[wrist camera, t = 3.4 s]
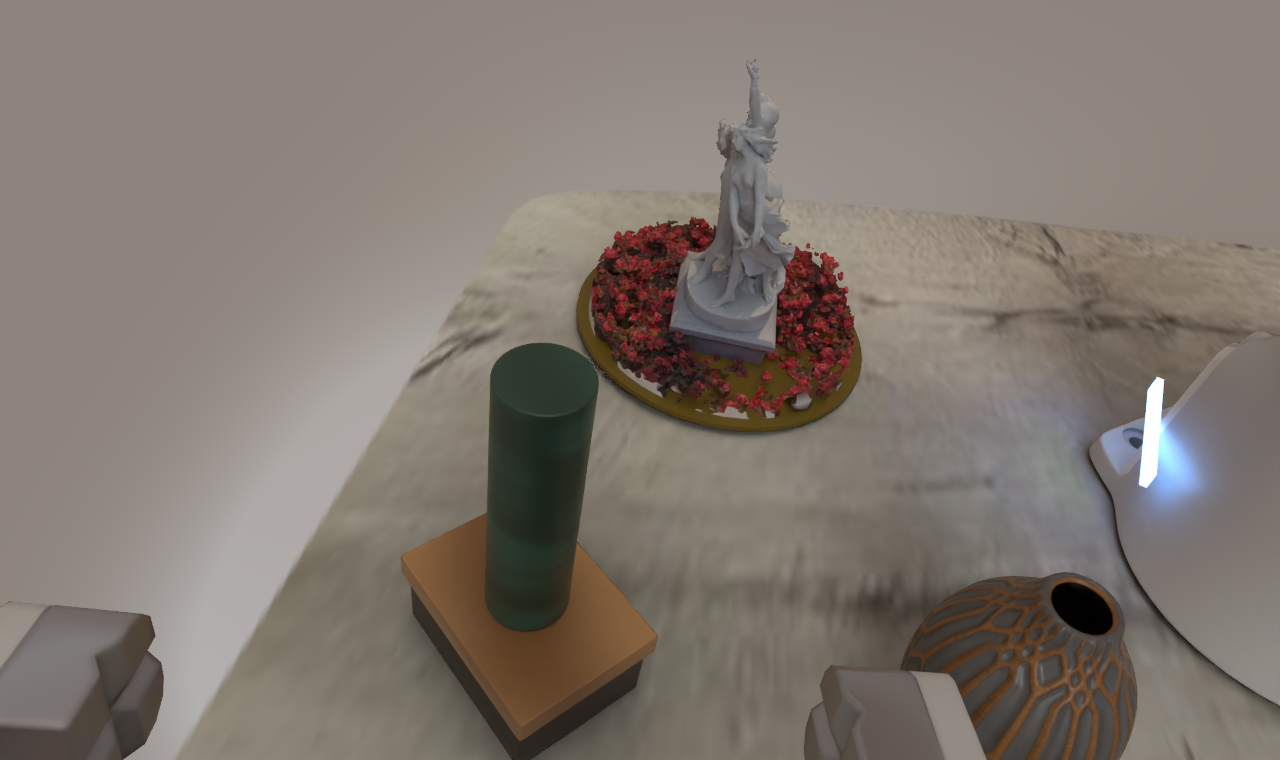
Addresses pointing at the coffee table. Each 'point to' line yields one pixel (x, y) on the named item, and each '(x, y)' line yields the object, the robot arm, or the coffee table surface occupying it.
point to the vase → (1035, 666)
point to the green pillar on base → (531, 567)
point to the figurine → (725, 305)
